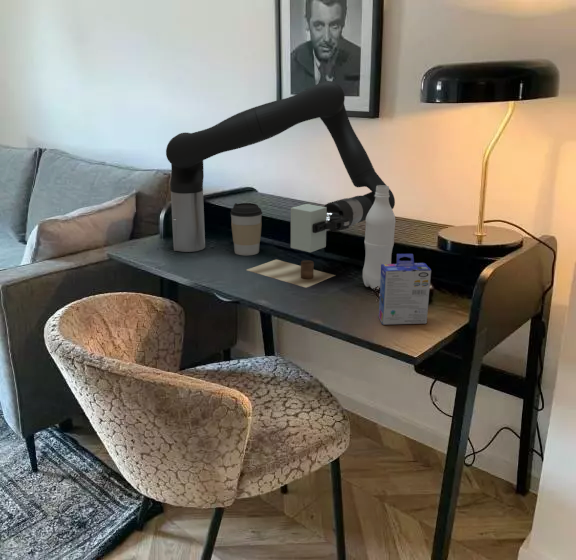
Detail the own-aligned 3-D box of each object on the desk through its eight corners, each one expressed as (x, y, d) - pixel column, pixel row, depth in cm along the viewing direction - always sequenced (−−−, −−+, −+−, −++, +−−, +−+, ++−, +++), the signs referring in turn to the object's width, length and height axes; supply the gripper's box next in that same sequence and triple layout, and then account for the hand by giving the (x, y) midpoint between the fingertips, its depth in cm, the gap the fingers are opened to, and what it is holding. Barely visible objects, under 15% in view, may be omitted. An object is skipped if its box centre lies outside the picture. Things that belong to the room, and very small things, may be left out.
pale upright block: (290, 247, 150) (290, 208, 147) (306, 242, 155) (306, 203, 151) (310, 252, 146) (311, 211, 143) (325, 246, 151) (326, 207, 147)
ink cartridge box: (420, 314, 134) (426, 251, 129) (428, 324, 129) (434, 259, 124) (376, 315, 133) (380, 252, 129) (382, 325, 128) (386, 260, 123)
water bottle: (394, 291, 148) (401, 189, 139) (364, 291, 147) (370, 189, 139) (387, 281, 154) (394, 183, 146) (359, 281, 154) (364, 183, 146)
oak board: (246, 274, 158) (245, 255, 157) (276, 263, 167) (276, 245, 165) (306, 292, 146) (306, 271, 145) (335, 279, 155) (336, 260, 153)
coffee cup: (264, 251, 178) (264, 201, 173) (260, 261, 169) (259, 208, 164) (234, 250, 178) (233, 200, 173) (228, 259, 170) (226, 207, 165)
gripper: (320, 196, 162) (279, 206, 150) (366, 203, 153) (326, 215, 141) (320, 223, 164) (279, 236, 152) (364, 232, 156) (326, 246, 144)
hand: (302, 226), depth 147 cm, fingers closed on pale upright block, 6 cm apart
